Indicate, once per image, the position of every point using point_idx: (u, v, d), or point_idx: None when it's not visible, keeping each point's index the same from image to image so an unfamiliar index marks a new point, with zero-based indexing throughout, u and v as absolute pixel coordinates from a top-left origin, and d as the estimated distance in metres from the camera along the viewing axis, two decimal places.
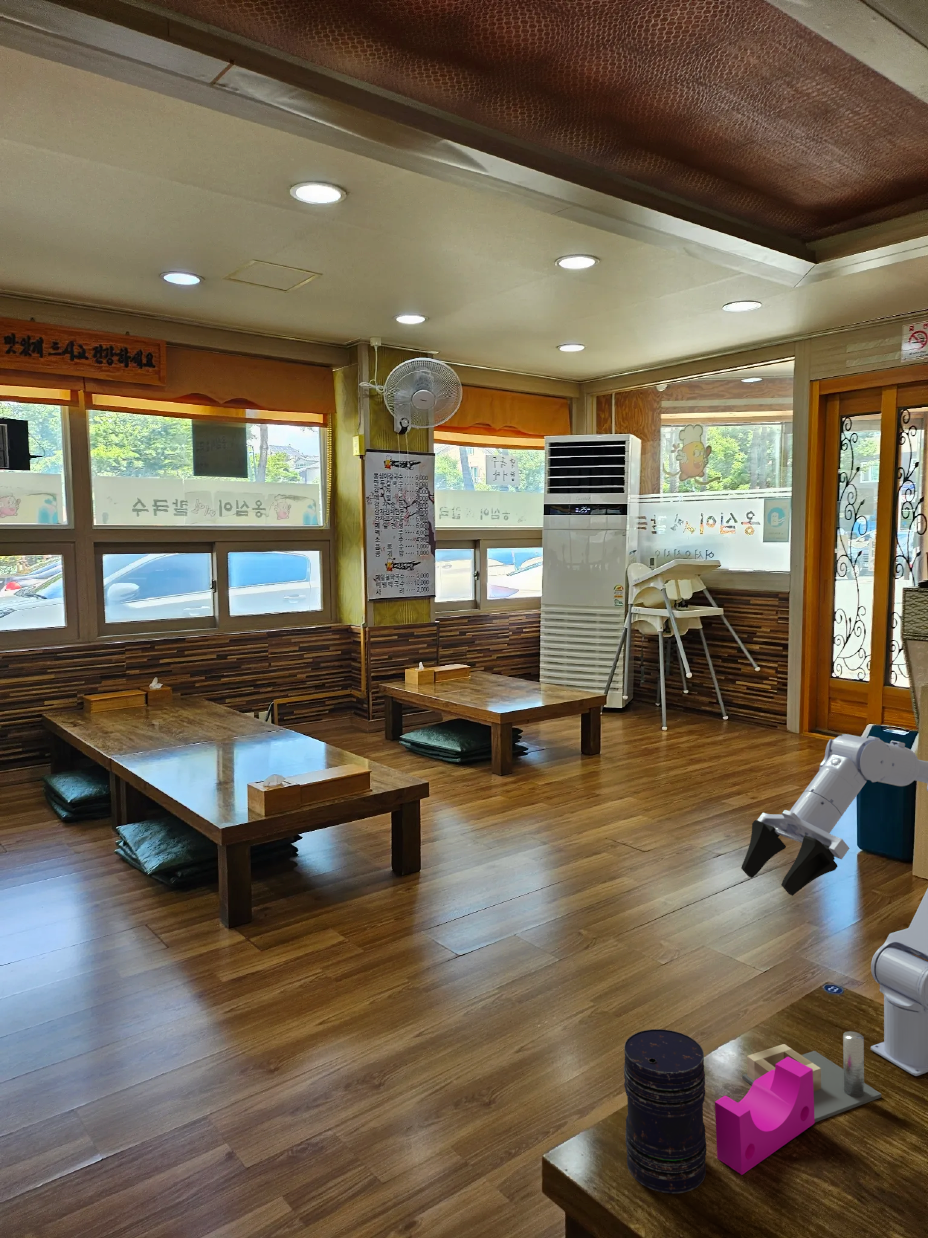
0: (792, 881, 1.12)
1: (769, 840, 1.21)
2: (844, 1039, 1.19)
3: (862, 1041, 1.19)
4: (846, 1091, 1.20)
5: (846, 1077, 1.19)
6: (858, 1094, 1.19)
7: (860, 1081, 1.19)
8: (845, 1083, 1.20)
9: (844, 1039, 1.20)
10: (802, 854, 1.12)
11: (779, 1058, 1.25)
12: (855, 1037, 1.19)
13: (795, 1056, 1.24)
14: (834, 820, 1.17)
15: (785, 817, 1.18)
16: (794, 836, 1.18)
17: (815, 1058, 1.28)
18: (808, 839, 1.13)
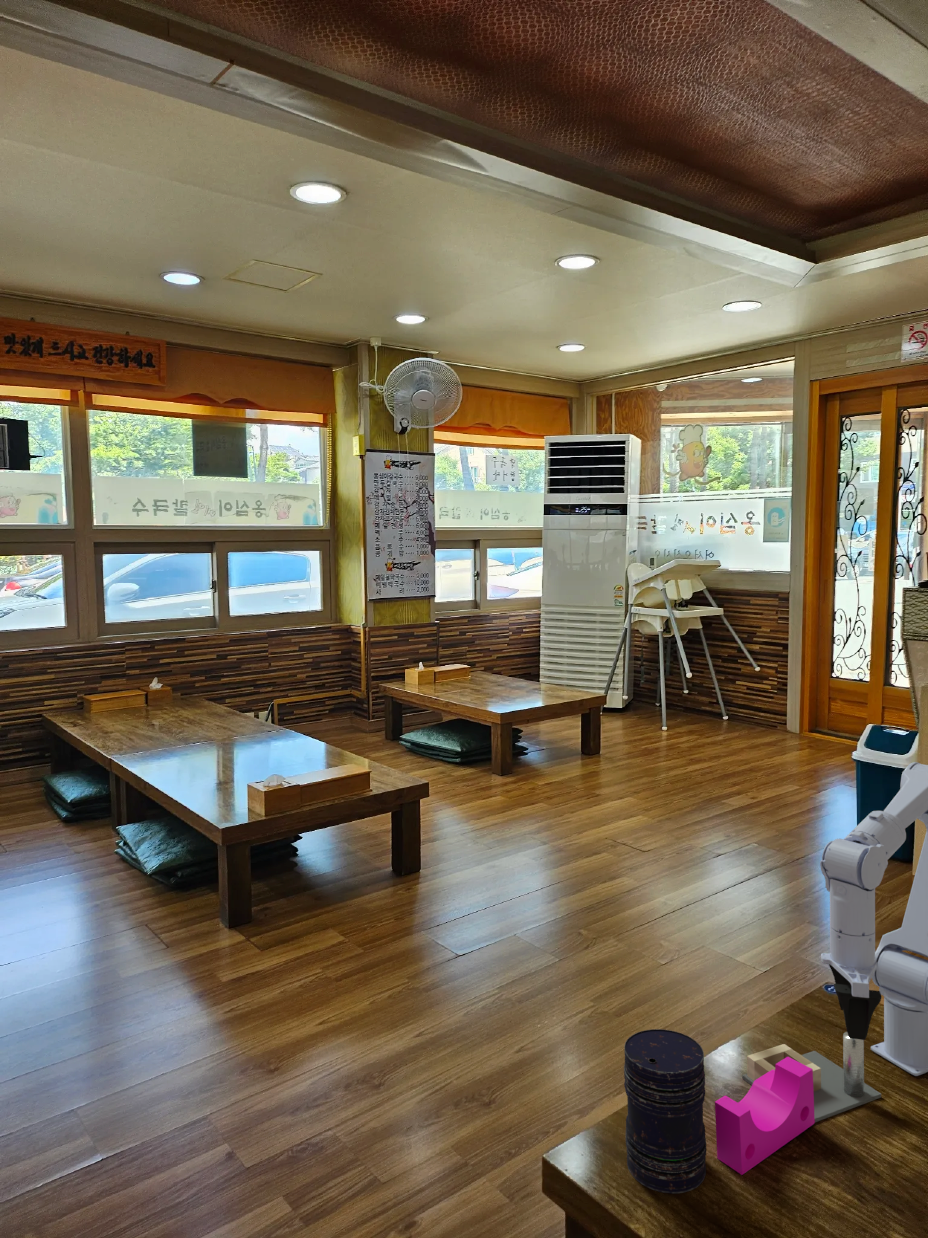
0: (852, 1030, 1.15)
1: None
2: (844, 1039, 1.19)
3: (862, 1041, 1.19)
4: (846, 1091, 1.20)
5: (846, 1077, 1.19)
6: (858, 1094, 1.19)
7: (860, 1081, 1.19)
8: (845, 1083, 1.20)
9: (844, 1039, 1.20)
10: None
11: (779, 1058, 1.25)
12: None
13: (795, 1056, 1.24)
14: (860, 946, 1.16)
15: None
16: None
17: (815, 1058, 1.28)
18: (835, 990, 1.15)
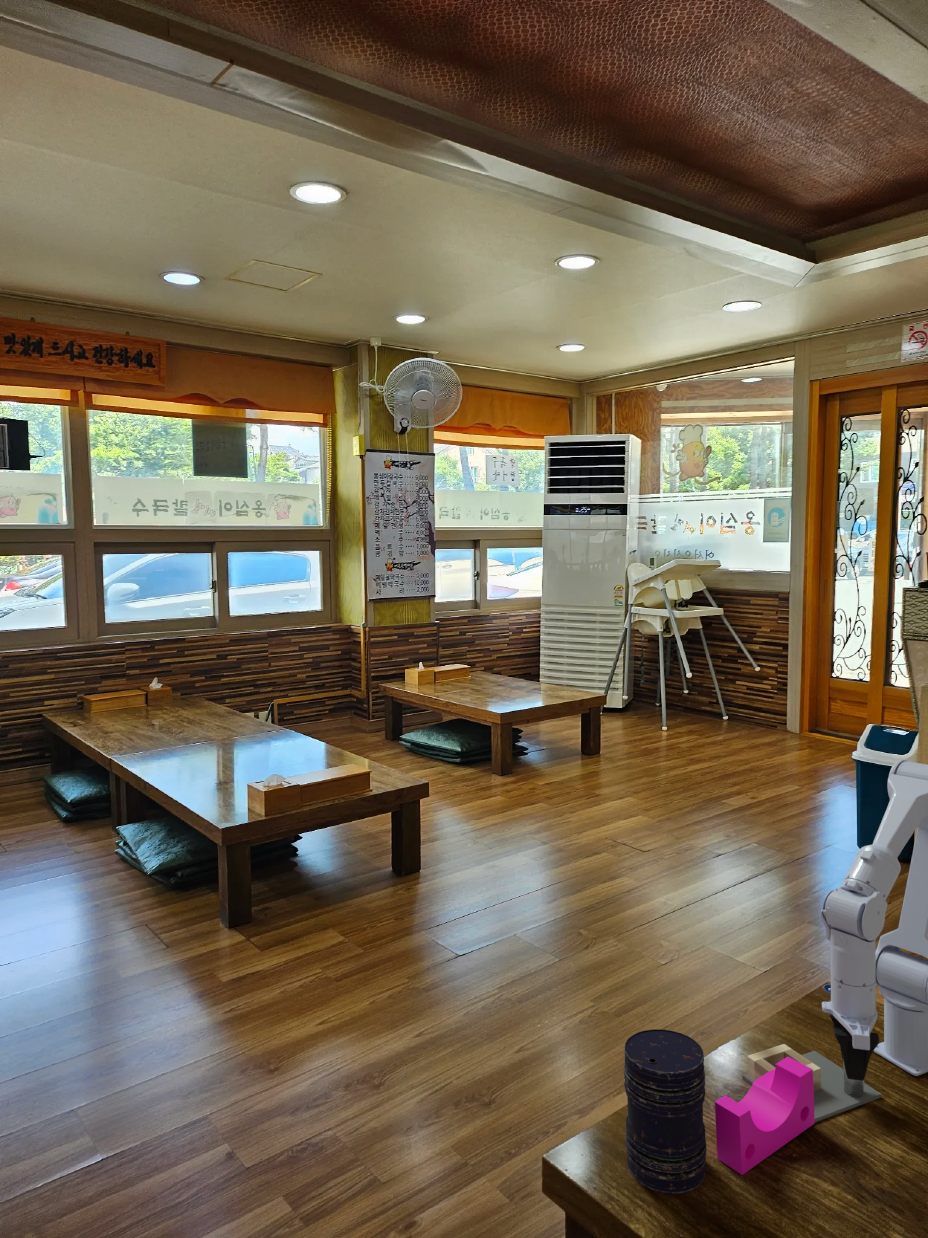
0: (851, 1071, 1.18)
1: None
2: None
3: None
4: (846, 1091, 1.20)
5: (846, 1077, 1.19)
6: (858, 1094, 1.19)
7: (860, 1081, 1.19)
8: (845, 1083, 1.20)
9: None
10: None
11: (779, 1058, 1.25)
12: None
13: (795, 1056, 1.24)
14: (861, 997, 1.16)
15: None
16: None
17: (815, 1058, 1.28)
18: (834, 1032, 1.18)
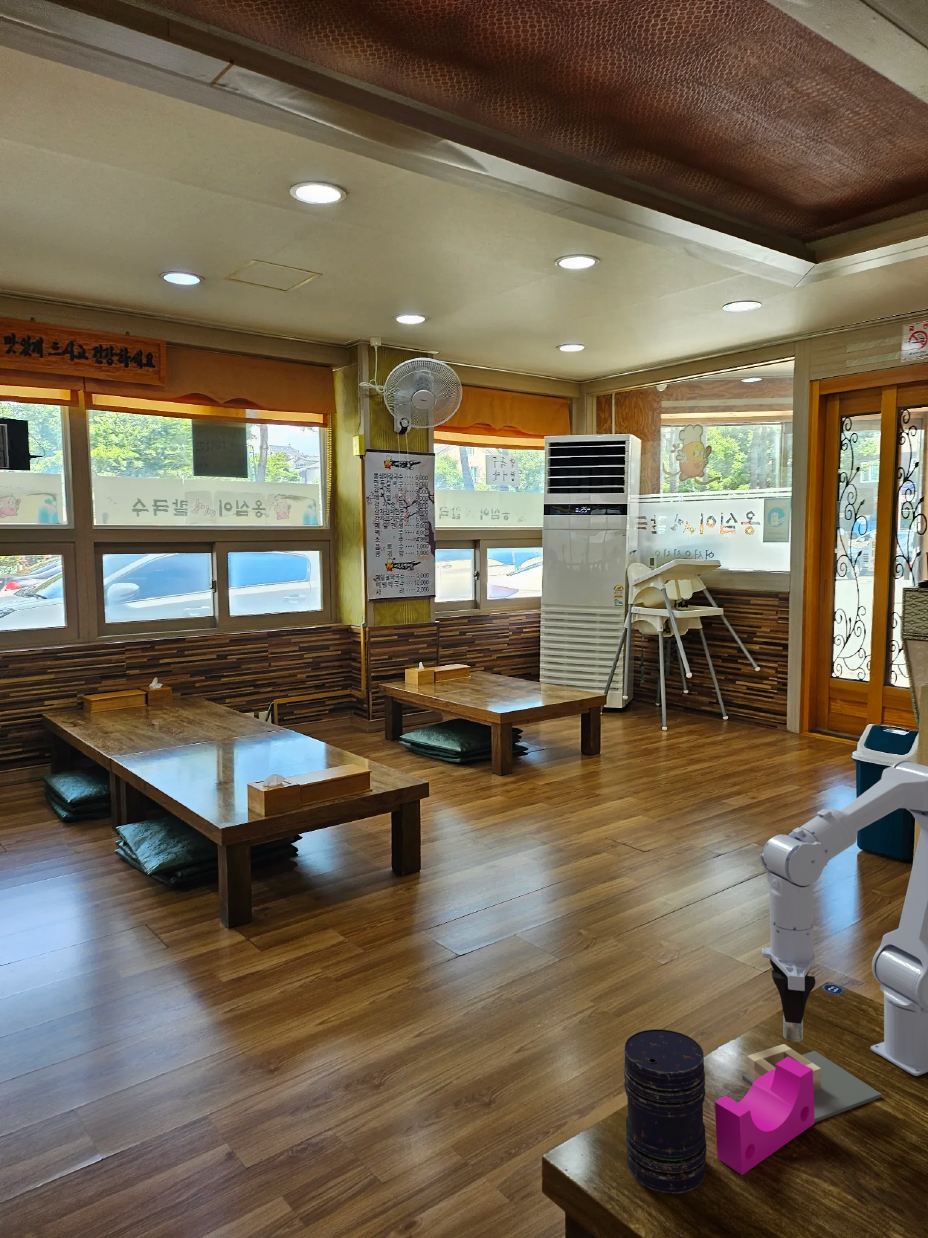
0: (788, 1014, 1.20)
1: None
2: None
3: None
4: (785, 1036, 1.21)
5: (785, 1022, 1.21)
6: (796, 1038, 1.21)
7: (799, 1026, 1.20)
8: (784, 1028, 1.22)
9: None
10: None
11: (779, 1058, 1.25)
12: None
13: (795, 1056, 1.24)
14: (798, 940, 1.18)
15: None
16: None
17: (815, 1058, 1.28)
18: None
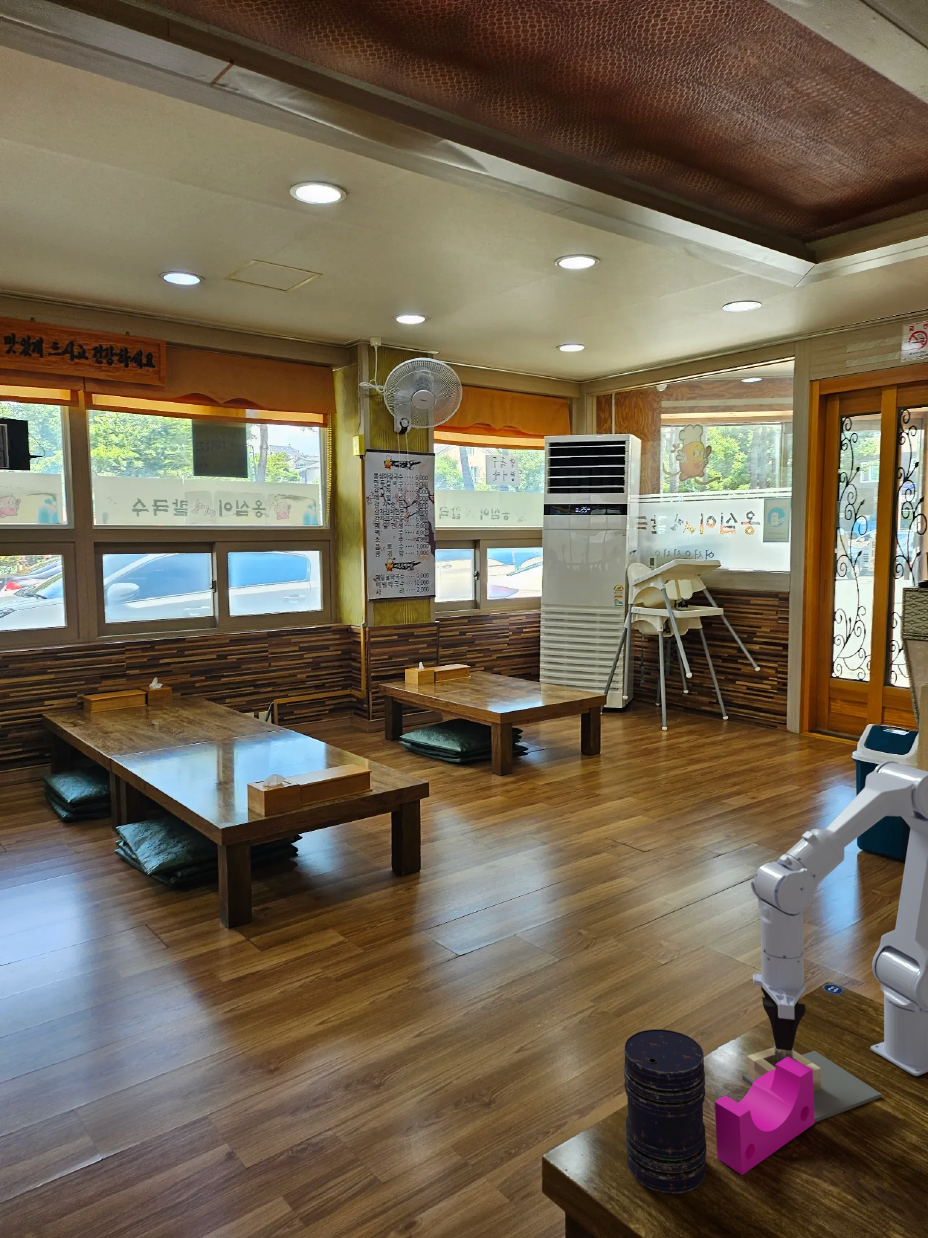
0: (779, 1041, 1.20)
1: None
2: None
3: None
4: (776, 1062, 1.22)
5: None
6: None
7: (789, 1053, 1.21)
8: (775, 1054, 1.22)
9: None
10: None
11: None
12: None
13: (795, 1056, 1.24)
14: (788, 968, 1.19)
15: None
16: None
17: (815, 1058, 1.28)
18: None
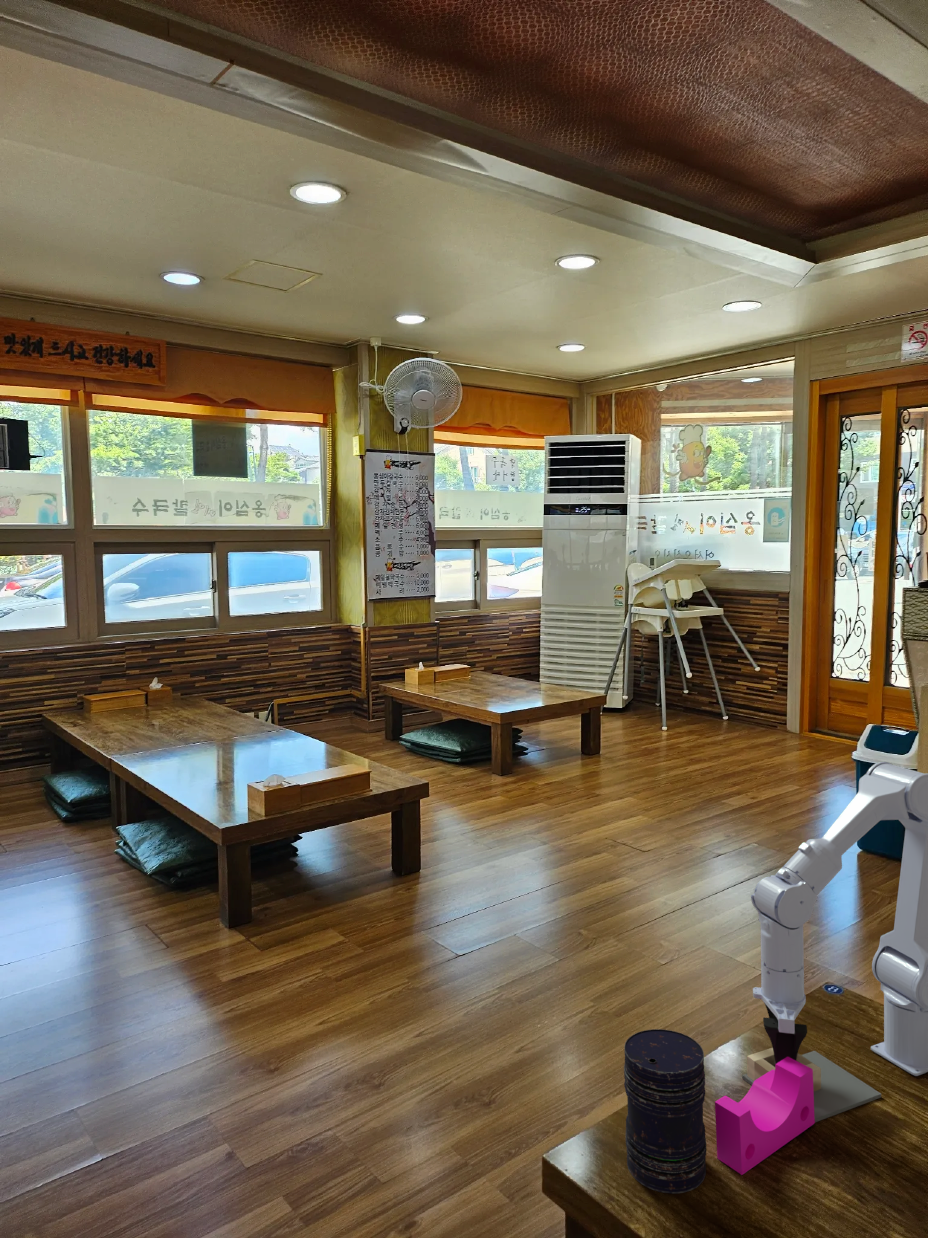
0: None
1: None
2: None
3: None
4: None
5: None
6: None
7: None
8: None
9: None
10: None
11: None
12: None
13: None
14: (789, 982, 1.19)
15: None
16: None
17: (815, 1058, 1.28)
18: None
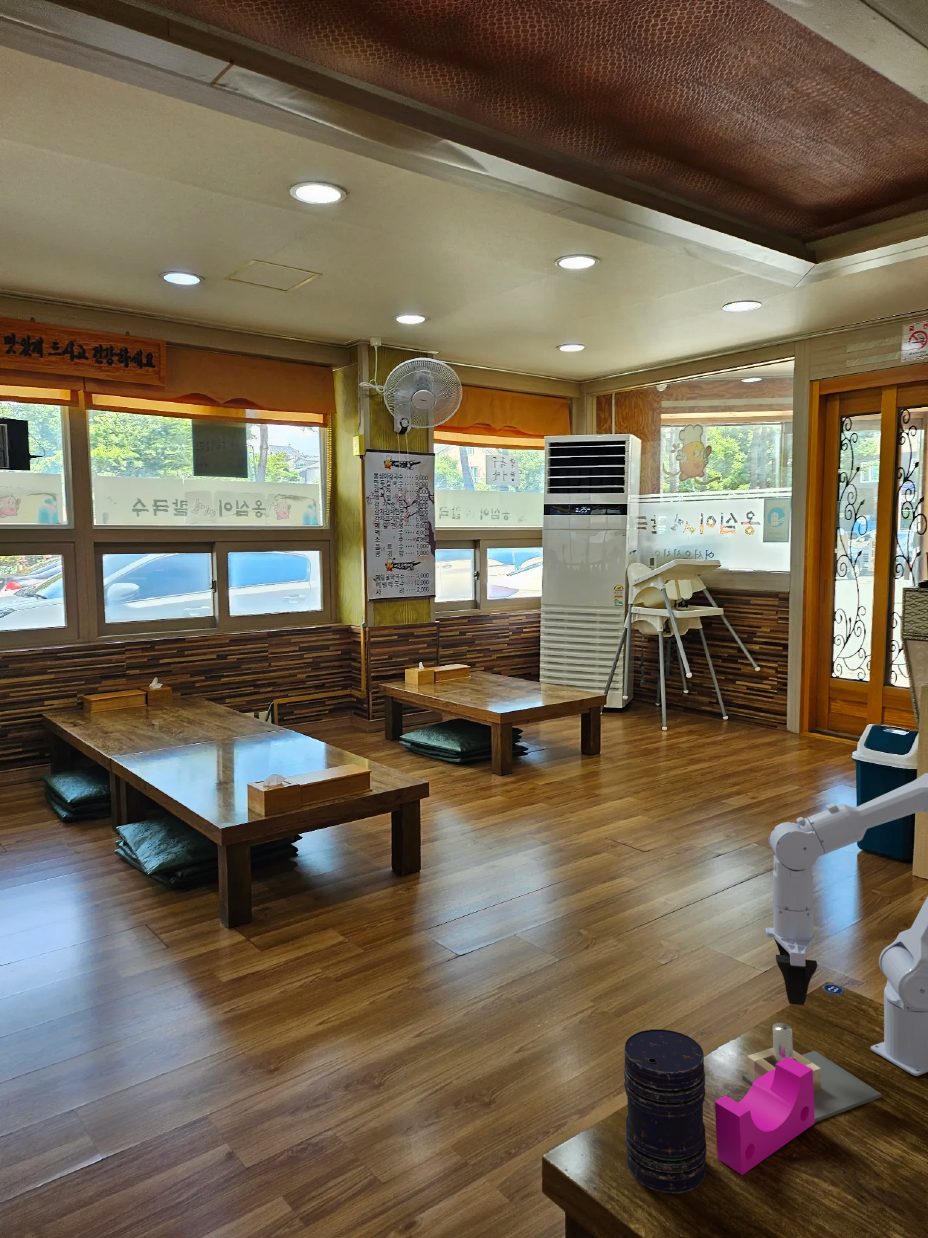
0: (792, 996, 1.27)
1: None
2: (773, 1030, 1.22)
3: (790, 1032, 1.21)
4: None
5: None
6: None
7: None
8: None
9: (773, 1031, 1.22)
10: None
11: None
12: (784, 1028, 1.22)
13: (795, 1056, 1.24)
14: (799, 920, 1.27)
15: None
16: None
17: (815, 1058, 1.28)
18: (776, 960, 1.27)
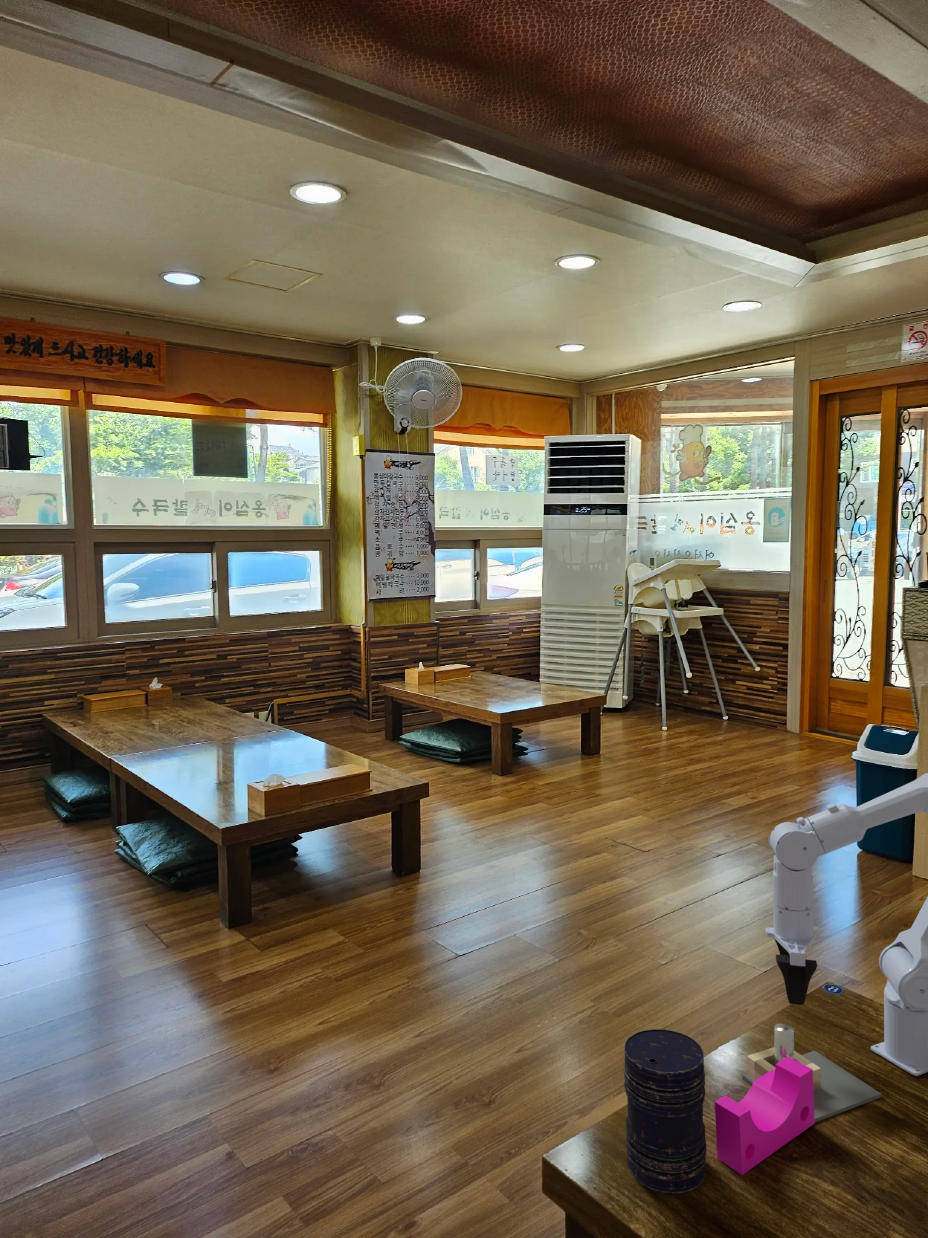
0: (792, 996, 1.27)
1: None
2: (775, 1031, 1.22)
3: (792, 1033, 1.21)
4: None
5: None
6: None
7: None
8: None
9: (775, 1031, 1.22)
10: None
11: None
12: (785, 1029, 1.22)
13: (795, 1056, 1.24)
14: (799, 920, 1.27)
15: None
16: None
17: (815, 1058, 1.28)
18: None
